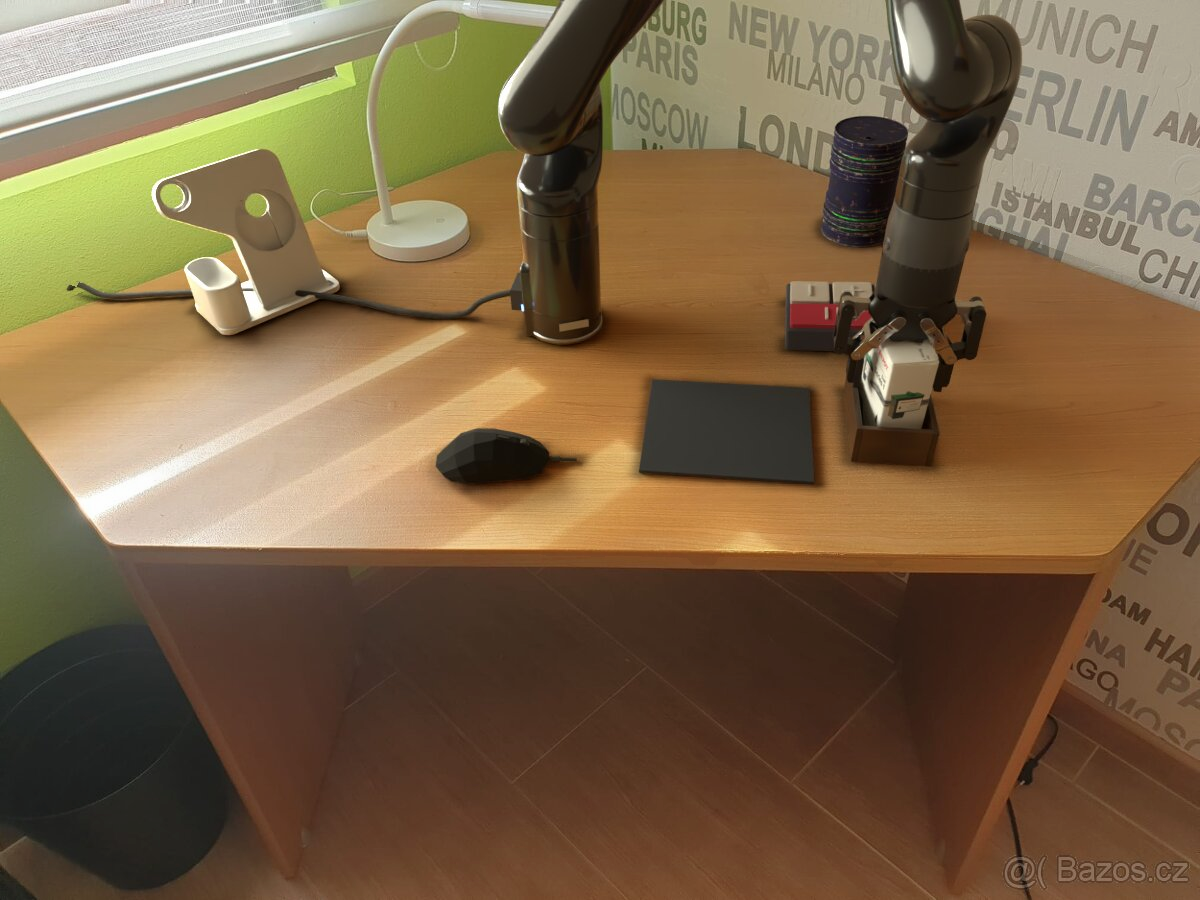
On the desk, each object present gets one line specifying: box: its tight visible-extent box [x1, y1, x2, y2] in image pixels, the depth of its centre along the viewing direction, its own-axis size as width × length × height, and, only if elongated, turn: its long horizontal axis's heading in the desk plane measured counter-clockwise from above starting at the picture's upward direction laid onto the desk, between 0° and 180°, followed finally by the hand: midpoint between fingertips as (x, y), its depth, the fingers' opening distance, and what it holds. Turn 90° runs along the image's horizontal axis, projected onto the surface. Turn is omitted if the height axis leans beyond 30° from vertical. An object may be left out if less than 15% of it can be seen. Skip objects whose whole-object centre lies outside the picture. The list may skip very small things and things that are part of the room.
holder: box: [842, 375, 941, 467], centre depth 103 cm, size 8×12×4 cm
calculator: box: [784, 280, 876, 352], centre depth 117 cm, size 11×4×15 cm
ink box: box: [858, 338, 939, 429], centre depth 100 cm, size 9×5×12 cm, turn 2°
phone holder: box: [151, 148, 341, 336], centre depth 122 cm, size 17×10×18 cm, turn 131°
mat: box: [638, 378, 816, 485], centre depth 104 cm, size 18×16×1 cm
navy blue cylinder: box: [820, 115, 909, 248], centre depth 133 cm, size 10×10×15 cm
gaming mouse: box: [435, 427, 578, 485], centre depth 100 cm, size 6×15×4 cm, turn 93°
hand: (895, 385), depth 100 cm, fingers open, 8 cm apart
